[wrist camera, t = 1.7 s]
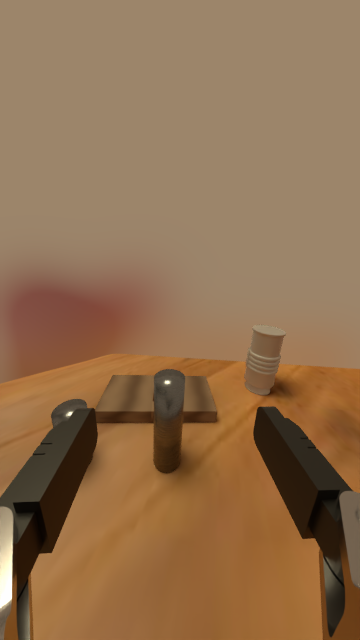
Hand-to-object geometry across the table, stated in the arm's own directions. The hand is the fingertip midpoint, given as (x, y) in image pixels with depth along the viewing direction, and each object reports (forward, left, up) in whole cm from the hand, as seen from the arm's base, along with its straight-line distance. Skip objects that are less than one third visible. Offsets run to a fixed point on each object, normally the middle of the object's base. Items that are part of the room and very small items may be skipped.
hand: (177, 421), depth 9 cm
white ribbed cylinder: (+22, +30, -21) cm, 42 cm away
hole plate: (-2, +25, -20) cm, 32 cm away
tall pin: (0, +13, -20) cm, 24 cm away
